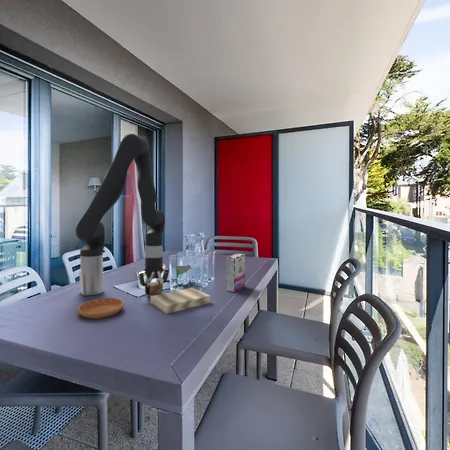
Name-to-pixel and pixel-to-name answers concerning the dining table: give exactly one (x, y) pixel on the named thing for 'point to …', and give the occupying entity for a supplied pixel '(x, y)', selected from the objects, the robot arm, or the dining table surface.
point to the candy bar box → (235, 272)
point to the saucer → (100, 308)
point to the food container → (182, 269)
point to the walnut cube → (155, 289)
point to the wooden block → (179, 300)
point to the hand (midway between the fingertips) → (153, 293)
